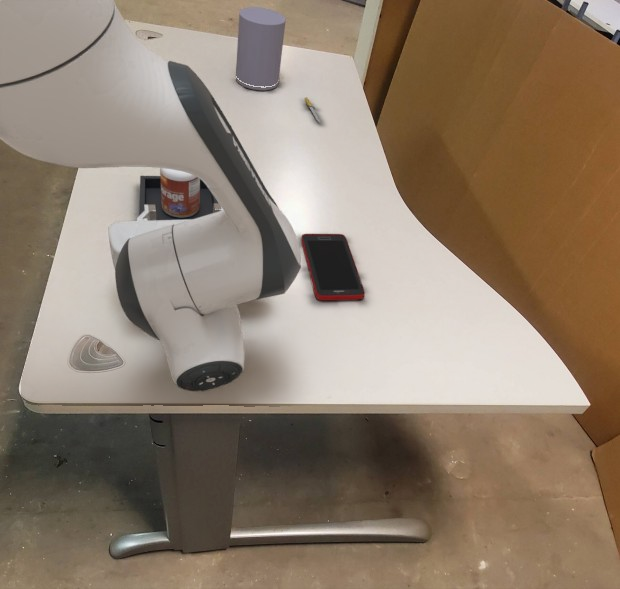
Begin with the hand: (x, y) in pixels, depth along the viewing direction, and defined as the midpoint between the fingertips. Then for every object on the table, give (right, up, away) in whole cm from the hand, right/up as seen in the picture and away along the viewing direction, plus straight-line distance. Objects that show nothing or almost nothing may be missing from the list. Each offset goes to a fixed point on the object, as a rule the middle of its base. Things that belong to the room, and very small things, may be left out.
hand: (184, 207), depth 74 cm
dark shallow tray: (-4, +2, +14) cm, 15 cm away
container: (+5, +39, +53) cm, 66 cm away
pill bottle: (-4, +2, +14) cm, 14 cm away
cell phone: (+21, -8, +10) cm, 25 cm away
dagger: (+18, +30, +46) cm, 58 cm away
